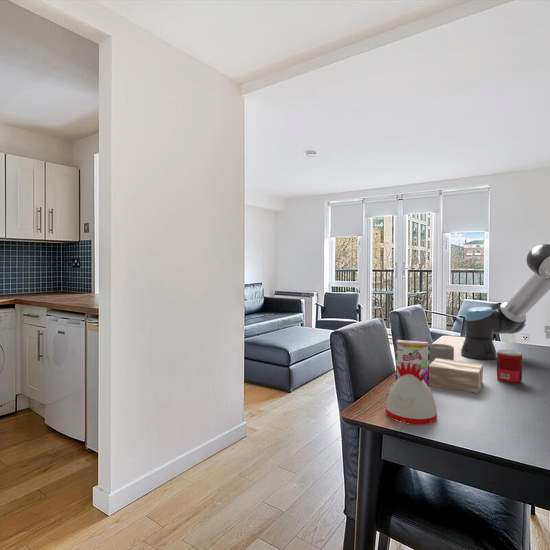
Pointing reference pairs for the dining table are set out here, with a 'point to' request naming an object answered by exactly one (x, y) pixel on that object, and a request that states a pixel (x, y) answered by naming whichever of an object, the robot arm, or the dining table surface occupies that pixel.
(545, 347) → the dining table surface
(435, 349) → the coffee mug
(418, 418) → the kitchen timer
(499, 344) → the dining table surface
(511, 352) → the canned food
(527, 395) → the dining table surface
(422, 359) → the candy bar box
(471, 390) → the oak box
